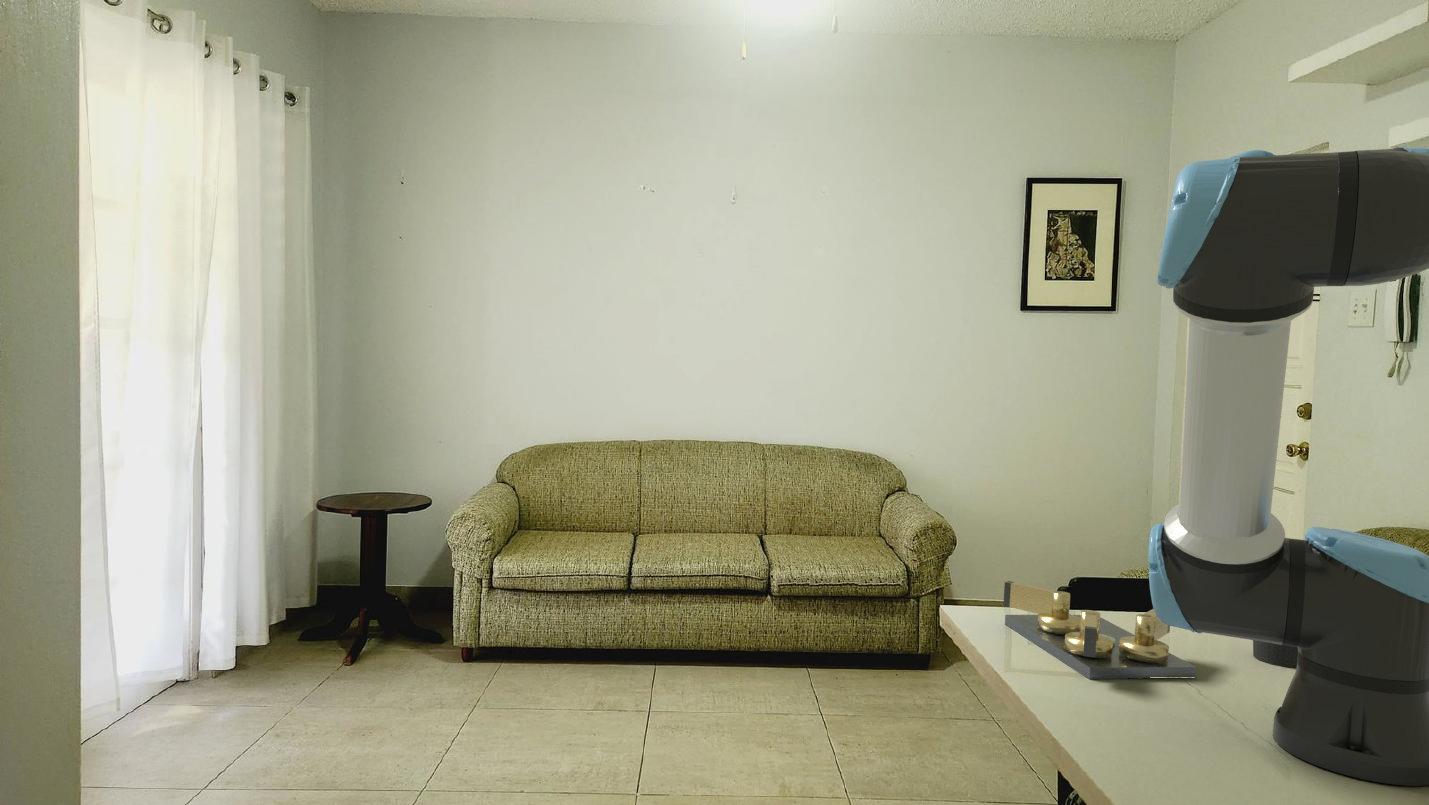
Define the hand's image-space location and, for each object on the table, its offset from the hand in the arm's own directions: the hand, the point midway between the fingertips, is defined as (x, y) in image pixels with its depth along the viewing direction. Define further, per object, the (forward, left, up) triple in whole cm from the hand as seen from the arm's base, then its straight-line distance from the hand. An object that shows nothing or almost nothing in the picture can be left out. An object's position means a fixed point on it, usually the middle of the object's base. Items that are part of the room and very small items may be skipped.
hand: (1230, 443), depth 127 cm
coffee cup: (0, -10, -31) cm, 32 cm away
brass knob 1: (+11, +20, -29) cm, 37 cm away
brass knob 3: (-1, +11, -29) cm, 31 cm away
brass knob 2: (-3, +21, -29) cm, 36 cm away
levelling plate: (+5, +16, -30) cm, 34 cm away
